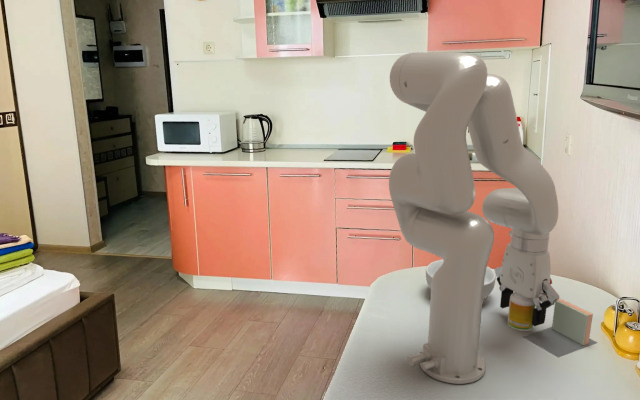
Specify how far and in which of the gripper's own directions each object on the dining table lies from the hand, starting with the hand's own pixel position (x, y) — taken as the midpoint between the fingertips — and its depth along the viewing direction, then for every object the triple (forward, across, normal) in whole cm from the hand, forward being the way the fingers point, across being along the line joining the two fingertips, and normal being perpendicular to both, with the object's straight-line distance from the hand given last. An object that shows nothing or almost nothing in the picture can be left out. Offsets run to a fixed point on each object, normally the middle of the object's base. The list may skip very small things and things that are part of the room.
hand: (521, 315), depth 118 cm
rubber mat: (+3, +8, +2) cm, 9 cm away
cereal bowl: (+3, -18, -2) cm, 18 cm away
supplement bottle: (+3, 0, 0) cm, 3 cm away
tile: (+2, +8, +5) cm, 10 cm away
